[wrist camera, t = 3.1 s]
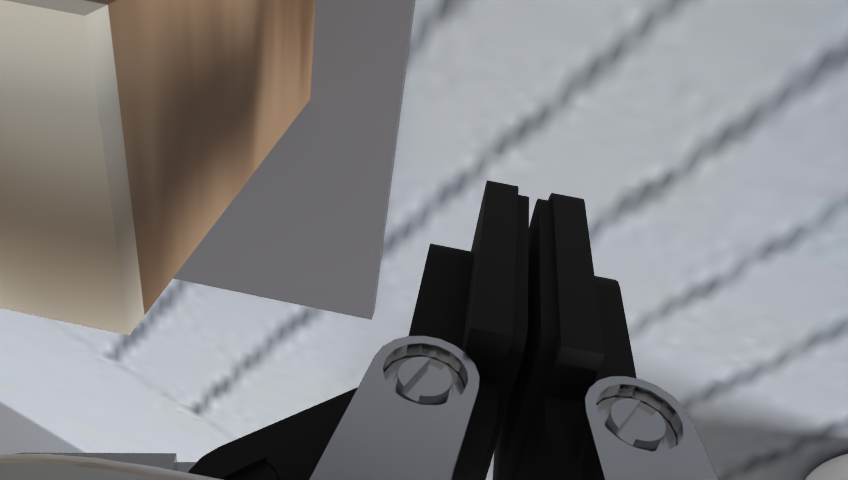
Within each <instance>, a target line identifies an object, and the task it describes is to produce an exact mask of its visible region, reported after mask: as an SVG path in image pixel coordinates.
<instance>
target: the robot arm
mask: <svg viewBox="0 0 848 480" xmlns="http://www.w3.org/2000/svg"><path fill="white" fill-rule="evenodd" d="M494 450H495V451H494ZM493 453H494V468H493V480H718V478H717V475H716V473H715V471H714V469H713V466H712V464H711V462H710V460H709V457H708V455H707V453H706V451H705V448H704V446H703V444H702V441H701V439H700V437H699V435H698V432H697V430H696V428H695V426H694V423H693V421H692V419H691V418H690V416H689V415H688V413H687V411H686V410H685V408H684V407H683V406H682V405H681V404H680V403H679V402H678V401H677V400H676V399H675V398H674V397H673V396H672V395H670V394H668V393H667V392H665V391H664V390H662V389H661V388H659V387H658V386H656V385H653V384H651V383H648V382H646V381H644V380H641V379H637V378H636V373H635V367H634V362H633V356H632V351H631V345H630V340H629V334H628V329H627V324H626V318H625V313H624V307H623V302H622V296H621V291H620V286H619V283H618V282H617V281H616V280H613V279H608V278H603V277H598V276H594V270H593V262H592V255H591V247H590V240H589V232H588V225H587V217H586V210H585V202H584V199H580V198H575V197H570V196H565V195H560V194H554V193H551V195H550V197H549V200H548V201H547V200H542V199H538V200H537V202H536V205H535V208H534V212H533V215H532V219H531V223H530V226H529V197H527V196H521V195H518V186H513V185H508V184H502V183H497V182H492V181H487V183H486V186H485V191H484V195H483V200H482V204H481V209H480V213H479V218H478V222H477V227H476V231H475V236H474V240H473V245H472V249H471V252H470V251H465V250H460V249H455V248H450V247H445V246H440V245H435V244H430V247H429V251H428V255H427V260H426V264H425V268H424V272H423V277H422V281H421V285H420V290H419V294H418V298H417V302H416V307H415V311H414V315H413V319H412V324H411V328H410V332H409V336H407V337H403V338H399V339H395V340H393V341H391V342H390V343H388V344H386V345H385V346H383V347H382V348H381V349H380V350H379V352H378V353H377V354H376V355H375V356H374V358H373V360H372V362H371V364H370V366H369V368H368V370H367V372H366V373H365V375H364V377H363V379H362V381H361V383H360V385H359V387H358V388H355V389H353V390H351V391H348V392H346V393H344V394H341V395H339V396H337V397H334V398H332V399H330V400H327V401H325V402H323V403H320V404H318V405H316V406H313V407H311V408H309V409H306V410H304V411H302V412H299V413H297V414H295V415H292V416H290V417H288V418H285V419H283V420H281V421H279V422H276V423H274V424H272V425H269V426H267V427H265V428H262V429H260V430H258V431H255V432H253V433H251V434H248V435H246V436H244V437H241V438H239V439H237V440H234V441H232V442H230V443H227V444H225V445H223V446H220V447H218V448H217V449H215V450H213V451H211V452H210V453H208V454H206V455H205V456H203V457H202V458H201V459H200V460H199V461H198V462H177V455H176V453H18V454H11V455H10V454H9V455H8V454H7V455H0V480H485V479H486V476H487V473H488V469H489V466H490V463H491V460H492V456H493Z"/></svg>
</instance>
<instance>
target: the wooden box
mask: <svg viewBox="0 0 848 480" xmlns="http://www.w3.org/2000/svg"><path fill="white" fill-rule="evenodd" d="M314 16H315V0H0V308H2V309H7V310H12V311H17V312H21V313H26V314H31V315H35V316H40V317H45V318H49V319H54V320H59V321H64V322H68V323H73V324H78V325H82V326H87V327H92V328H97V329H101V330H106V331H111V332H115V333H120V334H125V335H130V333H131V332H132V331H133V329H134V328H135V327H136V326H137V324H138V323H139V322H140V320H141V319H142V318H143V316H144V315H145V314H146V313H147V311H148V310H149V309H150V307H151V306H152V305H153V303H154V302H155V301H156V300H157V298H158V297H159V296H160V294H161V293H162V292H163V290H164V289H165V288H166V286H167V285H168V284H169V283H170V281H171V280H172V279H173V277H174V276H175V275H176V273H177V272H178V271H179V270H180V268H181V267H182V266H183V264H184V263H185V262H186V260H187V259H188V258H189V256H190V255H191V254H192V253H193V251H194V250H195V249H196V247H197V246H198V245H199V243H200V242H201V241H202V240H203V238H204V237H205V236H206V234H207V233H208V232H209V230H210V229H211V228H212V227H213V225H214V224H215V223H216V221H217V220H218V219H219V217H220V216H221V215H222V213H223V212H224V211H225V210H226V208H227V207H228V206H229V204H230V203H231V202H232V200H233V199H234V198H235V197H236V195H237V194H238V193H239V191H240V190H241V189H242V187H243V186H244V185H245V184H246V182H247V181H248V180H249V178H250V177H251V176H252V174H253V173H254V172H255V170H256V169H257V168H258V167H259V165H260V164H261V163H262V161H263V160H264V159H265V157H266V156H267V155H268V154H269V152H270V151H271V150H272V148H273V147H274V146H275V144H276V143H277V142H278V141H279V139H280V138H281V137H282V135H283V134H284V133H285V131H286V130H287V129H288V127H289V126H290V125H291V124H292V122H293V121H294V120H295V118H296V117H297V116H298V114H299V113H300V112H301V111H302V109H303V108H304V107H305V105H306V104H307V103H308V101H309V100H310V95H311V76H312V56H313V36H314Z"/></svg>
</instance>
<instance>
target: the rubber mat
mask: <svg viewBox="0 0 848 480" xmlns="http://www.w3.org/2000/svg"><path fill="white" fill-rule="evenodd" d="M414 6H415V0H315V16H314V36H313V56H312V76H311V95H310V100H309V101H308V103H307V104H306V105H305V107H304V108H303V109H302V111H301V112H300V113H299V114H298V116H297V117H296V118H295V120H294V121H293V122H292V124H291V125H290V126H289V127H288V129H287V130H286V131H285V133H284V134H283V135H282V137H281V138H280V139H279V141H278V142H277V143H276V144H275V146H274V147H273V148H272V150H271V151H270V152H269V154H268V155H267V156H266V157H265V159H264V160H263V161H262V163H261V164H260V165H259V167H258V168H257V169H256V170H255V172H254V173H253V174H252V176H251V177H250V178H249V180H248V181H247V182H246V184H245V185H244V186H243V187H242V189H241V190H240V191H239V193H238V194H237V195H236V197H235V198H234V199H233V200H232V202H231V203H230V204H229V206H228V207H227V208H226V210H225V211H224V212H223V213H222V215H221V216H220V217H219V219H218V220H217V221H216V223H215V224H214V225H213V227H212V228H211V229H210V230H209V232H208V233H207V234H206V236H205V237H204V238H203V240H202V241H201V242H200V243H199V245H198V246H197V247H196V249H195V250H194V251H193V253H192V254H191V255H190V256H189V258H188V259H187V260H186V262H185V263H184V264H183V266H182V267H181V268H180V270H179V271H178V272H177V273H176V275H175V276H174V277H173V278H174V279H179V280H184V281H188V282H193V283H198V284H203V285H208V286H212V287H217V288H222V289H227V290H232V291H236V292H241V293H246V294H251V295H256V296H260V297H265V298H270V299H275V300H280V301H284V302H289V303H294V304H299V305H304V306H308V307H313V308H318V309H323V310H328V311H332V312H337V313H342V314H347V315H352V316H356V317H361V318H366V319H371V320H372V317H373V314H374V309H375V301H376V294H377V286H378V279H379V271H380V264H381V256H382V248H383V241H384V233H385V226H386V218H387V210H388V203H389V195H390V188H391V180H392V173H393V165H394V157H395V150H396V142H397V135H398V127H399V119H400V112H401V104H402V97H403V89H404V82H405V74H406V66H407V59H408V51H409V44H410V36H411V28H412V21H413V13H414Z"/></svg>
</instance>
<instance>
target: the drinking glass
mask: <svg viewBox="0 0 848 480" xmlns="http://www.w3.org/2000/svg"><path fill="white" fill-rule="evenodd" d="M805 480H848V454H844V455H841V456H837V457H835V458H832V459H830V460H828V461H826V462H824V463H823V464H821V465H819V466H818V467H817V468H815V469H814V470H813V471H812V472H811V473H810V474H809V475H808V476H807V477H806V479H805Z"/></svg>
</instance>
